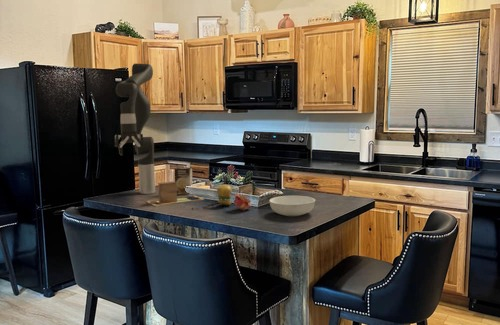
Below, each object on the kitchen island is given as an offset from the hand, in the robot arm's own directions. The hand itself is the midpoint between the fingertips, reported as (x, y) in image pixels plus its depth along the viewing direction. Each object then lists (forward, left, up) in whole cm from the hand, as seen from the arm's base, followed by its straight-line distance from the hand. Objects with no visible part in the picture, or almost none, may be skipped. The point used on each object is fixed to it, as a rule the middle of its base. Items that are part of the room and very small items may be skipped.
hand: (129, 154), depth 230 cm
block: (+9, +16, -25) cm, 31 cm away
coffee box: (-9, +33, -27) cm, 43 cm away
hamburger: (+29, +39, -27) cm, 55 cm away
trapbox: (+9, +20, -26) cm, 34 cm away
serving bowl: (+63, +56, -27) cm, 88 cm away
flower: (+42, +42, -27) cm, 65 cm away
